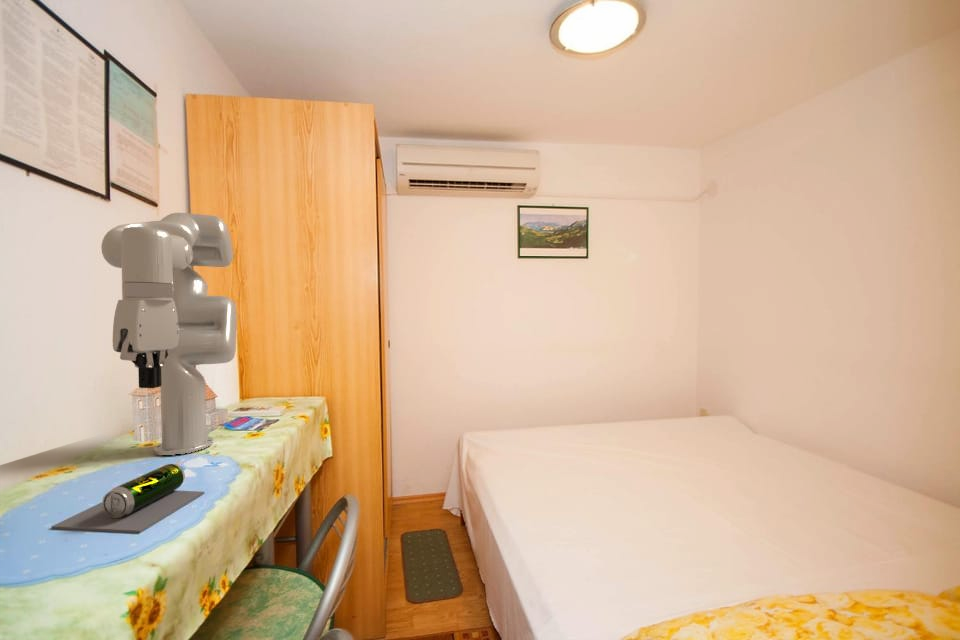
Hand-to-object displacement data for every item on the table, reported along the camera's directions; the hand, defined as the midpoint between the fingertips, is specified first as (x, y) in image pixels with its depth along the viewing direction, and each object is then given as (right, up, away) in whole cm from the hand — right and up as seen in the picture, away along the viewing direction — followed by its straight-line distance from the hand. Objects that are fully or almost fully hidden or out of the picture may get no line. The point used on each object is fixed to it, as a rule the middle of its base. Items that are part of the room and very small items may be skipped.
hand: (150, 387), depth 77 cm
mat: (0, -22, -4) cm, 22 cm away
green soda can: (+1, -19, +4) cm, 19 cm away
